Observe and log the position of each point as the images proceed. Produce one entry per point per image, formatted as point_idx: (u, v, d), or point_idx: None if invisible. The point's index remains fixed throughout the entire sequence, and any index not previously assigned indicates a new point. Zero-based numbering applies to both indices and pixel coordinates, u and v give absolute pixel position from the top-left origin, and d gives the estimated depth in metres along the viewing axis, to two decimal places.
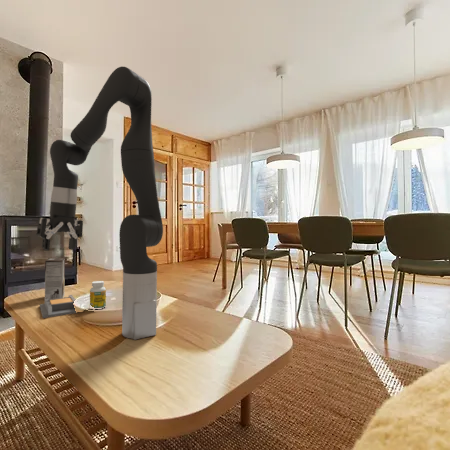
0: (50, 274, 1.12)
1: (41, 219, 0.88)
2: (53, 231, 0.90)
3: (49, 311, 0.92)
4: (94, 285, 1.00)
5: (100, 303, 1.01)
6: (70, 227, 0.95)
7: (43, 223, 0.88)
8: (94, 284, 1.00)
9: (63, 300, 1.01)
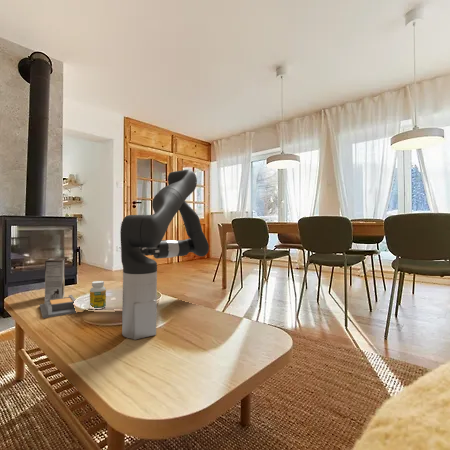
0: (50, 274, 1.12)
1: None
2: None
3: (49, 311, 0.92)
4: (94, 285, 1.00)
5: (100, 303, 1.01)
6: None
7: None
8: (94, 284, 1.00)
9: (63, 300, 1.01)
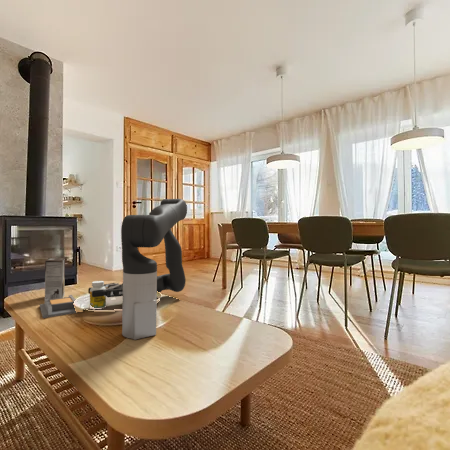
0: (50, 274, 1.12)
1: None
2: (107, 284, 1.07)
3: (49, 311, 0.92)
4: (94, 285, 1.00)
5: (100, 303, 1.01)
6: (115, 285, 1.04)
7: (110, 283, 1.11)
8: (94, 284, 1.00)
9: (63, 300, 1.01)
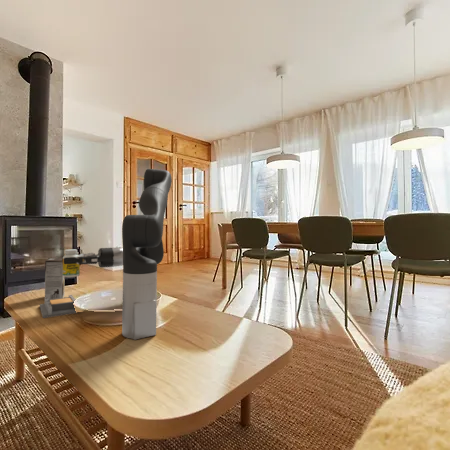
0: (50, 274, 1.12)
1: None
2: None
3: (49, 311, 0.92)
4: (66, 252, 1.00)
5: (73, 270, 1.00)
6: (89, 254, 1.04)
7: None
8: (66, 251, 1.00)
9: (63, 300, 1.01)
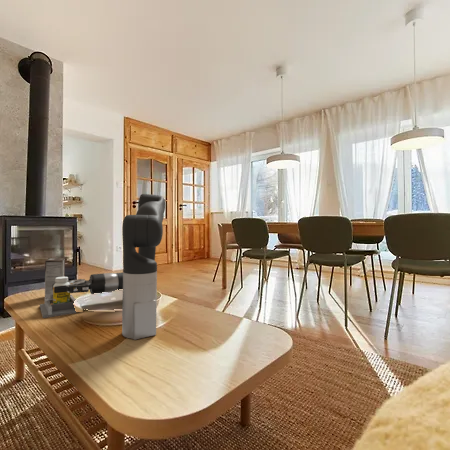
0: (50, 274, 1.12)
1: None
2: (73, 280, 1.05)
3: (49, 311, 0.92)
4: (57, 281, 0.99)
5: (63, 299, 0.99)
6: (80, 281, 1.03)
7: None
8: (57, 280, 0.99)
9: None
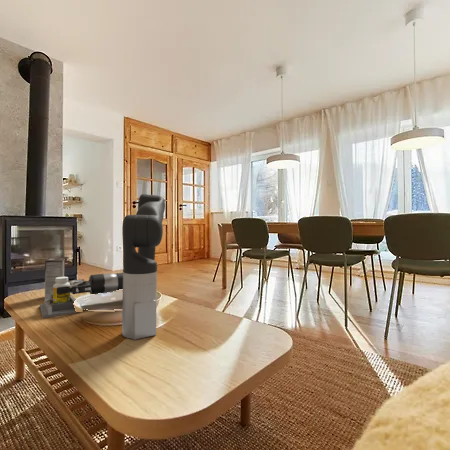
0: (50, 274, 1.12)
1: None
2: (73, 280, 1.06)
3: (49, 311, 0.92)
4: (57, 281, 0.99)
5: (63, 299, 0.99)
6: (80, 282, 1.03)
7: None
8: (57, 280, 0.99)
9: None
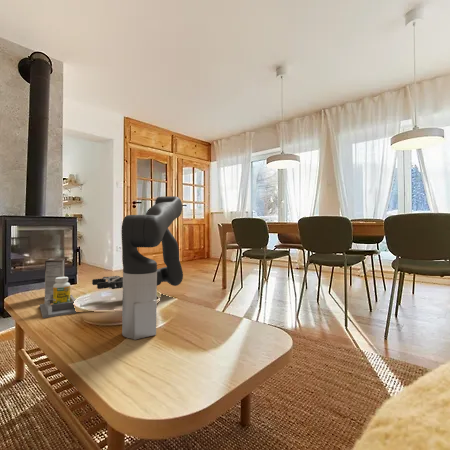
0: (50, 274, 1.12)
1: None
2: None
3: (49, 311, 0.92)
4: (57, 281, 0.99)
5: (63, 299, 0.99)
6: (117, 278, 1.10)
7: (113, 276, 1.18)
8: (57, 280, 0.99)
9: None
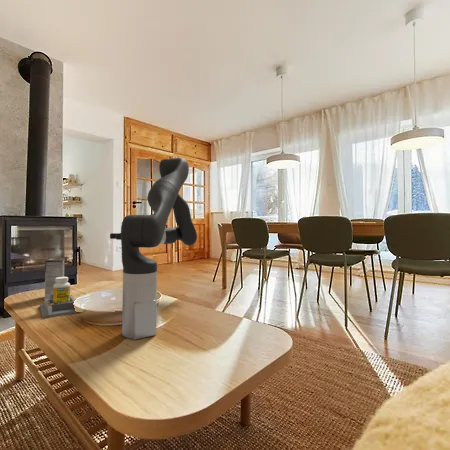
0: (50, 274, 1.12)
1: None
2: None
3: (49, 311, 0.92)
4: (57, 281, 0.99)
5: (63, 299, 0.99)
6: None
7: None
8: (57, 280, 0.99)
9: None
